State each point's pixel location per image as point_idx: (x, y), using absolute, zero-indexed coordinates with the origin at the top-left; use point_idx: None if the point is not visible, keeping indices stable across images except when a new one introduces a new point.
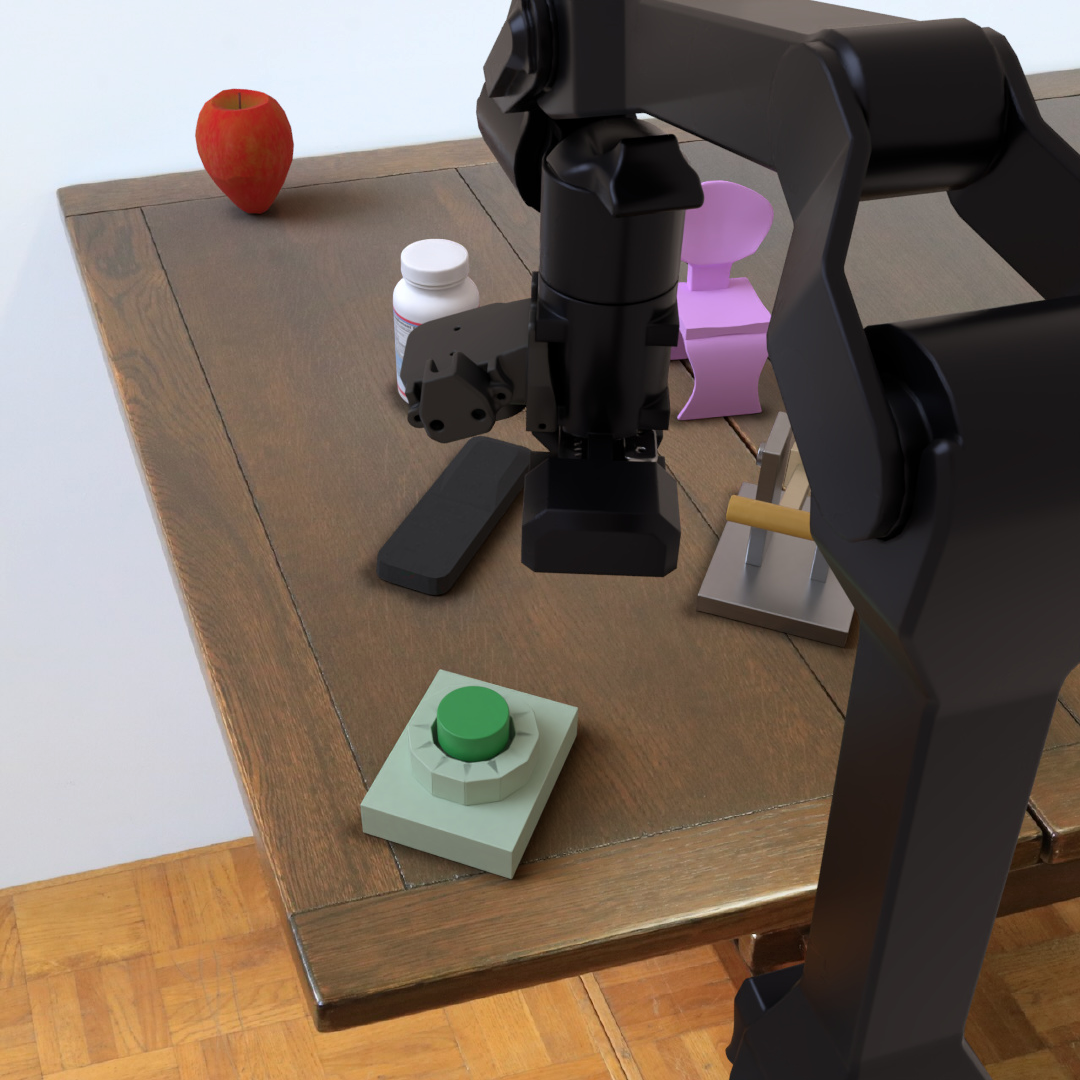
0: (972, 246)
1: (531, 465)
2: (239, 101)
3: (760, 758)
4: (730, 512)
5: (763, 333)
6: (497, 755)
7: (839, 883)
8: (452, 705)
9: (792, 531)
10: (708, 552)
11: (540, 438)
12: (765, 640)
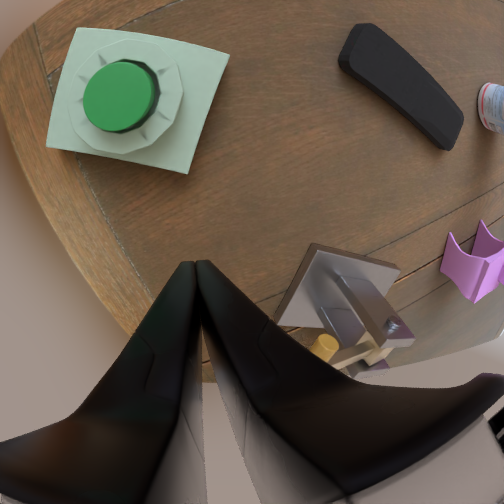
0: (468, 329)
1: (24, 501)
2: None
3: None
4: (320, 346)
5: (471, 295)
6: None
7: None
8: (121, 75)
9: None
10: (359, 248)
11: (313, 475)
12: (282, 280)
